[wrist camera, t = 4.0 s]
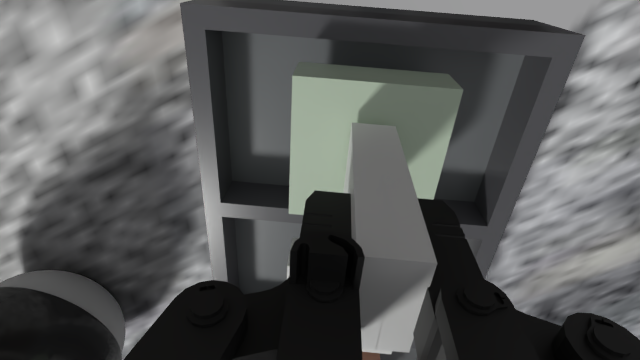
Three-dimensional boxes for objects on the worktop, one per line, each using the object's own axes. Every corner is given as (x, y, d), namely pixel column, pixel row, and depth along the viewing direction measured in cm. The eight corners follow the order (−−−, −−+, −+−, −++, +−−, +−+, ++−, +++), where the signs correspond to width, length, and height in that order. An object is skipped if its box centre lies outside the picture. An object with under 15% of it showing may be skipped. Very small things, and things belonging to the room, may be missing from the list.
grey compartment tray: (414, 370, 29) (423, 424, 26) (241, 353, 29) (227, 405, 26) (533, 20, 16) (585, 35, 12) (215, -6, 16) (180, 3, 13)
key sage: (417, 198, 16) (426, 226, 15) (294, 187, 16) (288, 213, 15) (448, 73, 14) (463, 89, 12) (298, 61, 14) (292, 75, 12)
